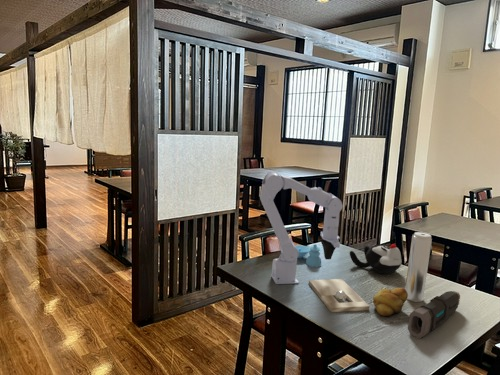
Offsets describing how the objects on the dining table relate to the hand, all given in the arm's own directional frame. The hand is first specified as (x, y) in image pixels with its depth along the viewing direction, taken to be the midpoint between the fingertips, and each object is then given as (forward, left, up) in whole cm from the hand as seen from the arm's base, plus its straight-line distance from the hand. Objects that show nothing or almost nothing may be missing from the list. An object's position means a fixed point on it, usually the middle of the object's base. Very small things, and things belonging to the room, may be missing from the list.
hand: (327, 258), depth 144 cm
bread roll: (+12, -24, -10) cm, 29 cm away
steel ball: (-2, -17, -7) cm, 19 cm away
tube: (+25, -33, -10) cm, 43 cm away
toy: (+28, +10, -10) cm, 31 cm away
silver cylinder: (+28, -17, -10) cm, 34 cm away
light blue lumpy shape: (-1, +23, -10) cm, 25 cm away
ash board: (-1, -13, -9) cm, 16 cm away
